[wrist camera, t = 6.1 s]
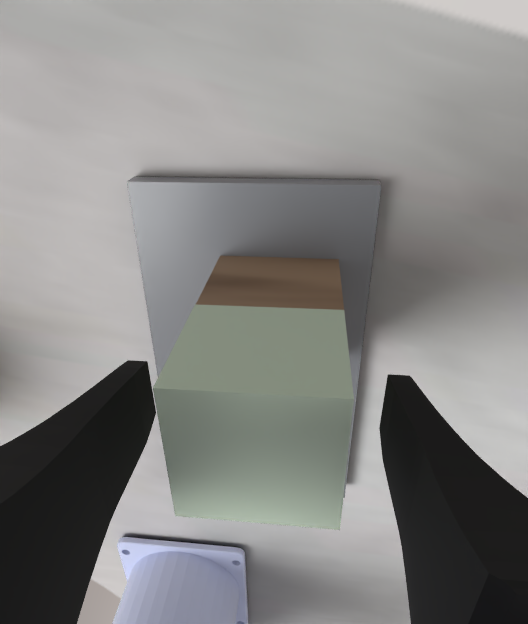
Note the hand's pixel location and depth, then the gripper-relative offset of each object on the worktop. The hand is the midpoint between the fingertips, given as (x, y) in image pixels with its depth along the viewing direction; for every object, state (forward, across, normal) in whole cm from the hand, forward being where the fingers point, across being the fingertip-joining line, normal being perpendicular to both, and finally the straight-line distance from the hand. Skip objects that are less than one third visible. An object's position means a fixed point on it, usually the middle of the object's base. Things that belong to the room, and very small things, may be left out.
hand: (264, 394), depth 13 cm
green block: (+1, 0, 0) cm, 1 cm away
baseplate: (+6, +1, +3) cm, 7 cm away
